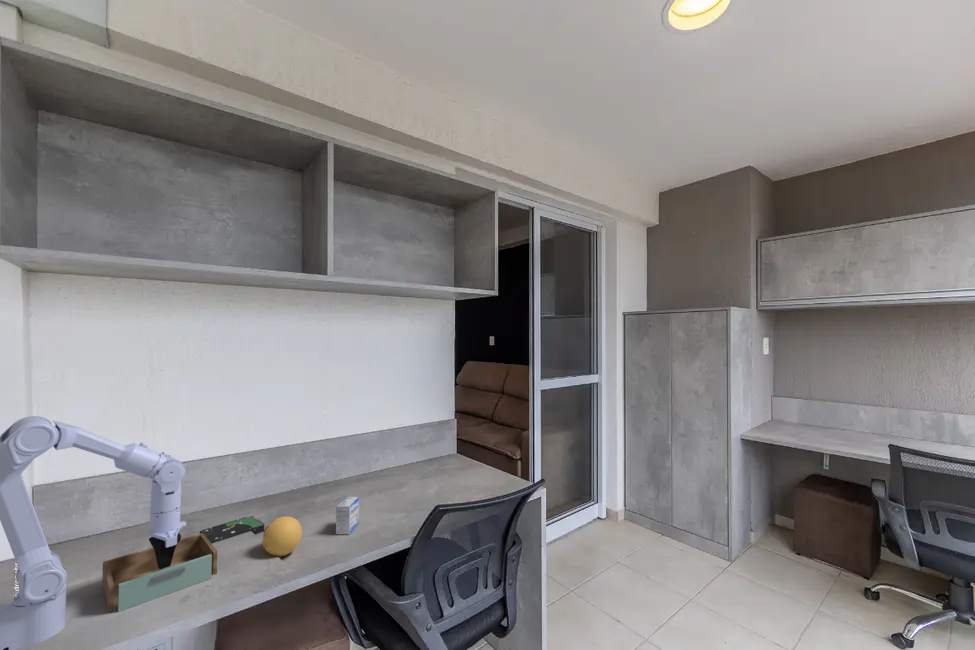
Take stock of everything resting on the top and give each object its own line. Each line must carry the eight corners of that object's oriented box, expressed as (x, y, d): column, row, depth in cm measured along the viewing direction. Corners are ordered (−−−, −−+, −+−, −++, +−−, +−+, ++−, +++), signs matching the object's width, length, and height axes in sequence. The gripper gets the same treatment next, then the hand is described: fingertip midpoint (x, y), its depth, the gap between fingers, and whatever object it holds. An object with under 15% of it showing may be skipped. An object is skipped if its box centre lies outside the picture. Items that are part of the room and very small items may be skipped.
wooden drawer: (108, 619, 88) (109, 586, 89) (101, 591, 98) (102, 561, 98) (216, 579, 103) (217, 551, 103) (202, 558, 113) (202, 532, 113)
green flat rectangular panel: (118, 613, 88) (119, 586, 88) (117, 609, 89) (118, 583, 89) (211, 579, 101) (212, 556, 101) (210, 576, 102) (210, 553, 102)
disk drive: (210, 552, 117) (265, 532, 129) (210, 542, 117) (265, 523, 129) (198, 540, 124) (252, 522, 135) (198, 530, 124) (252, 514, 135)
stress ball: (304, 556, 116) (307, 521, 123) (294, 541, 109) (297, 505, 117) (266, 566, 114) (272, 530, 121) (253, 551, 107) (260, 514, 115)
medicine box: (349, 535, 126) (350, 506, 127) (335, 534, 127) (335, 506, 127) (359, 523, 134) (359, 496, 135) (345, 523, 134) (345, 496, 135)
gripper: (193, 512, 97) (192, 571, 96) (179, 495, 106) (178, 549, 106) (155, 522, 91) (153, 584, 91) (144, 504, 101) (142, 560, 101)
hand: (164, 566), depth 98 cm, fingers closed
